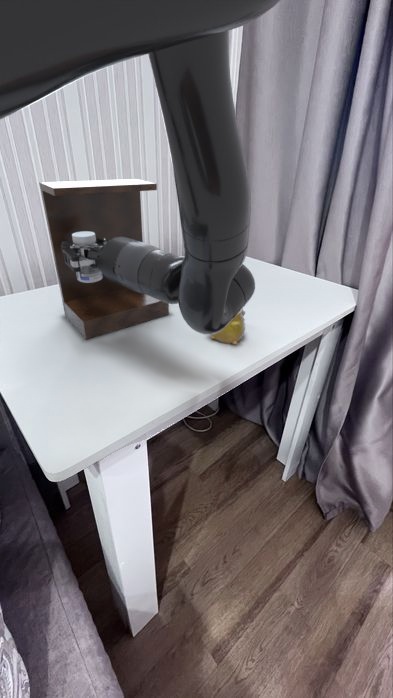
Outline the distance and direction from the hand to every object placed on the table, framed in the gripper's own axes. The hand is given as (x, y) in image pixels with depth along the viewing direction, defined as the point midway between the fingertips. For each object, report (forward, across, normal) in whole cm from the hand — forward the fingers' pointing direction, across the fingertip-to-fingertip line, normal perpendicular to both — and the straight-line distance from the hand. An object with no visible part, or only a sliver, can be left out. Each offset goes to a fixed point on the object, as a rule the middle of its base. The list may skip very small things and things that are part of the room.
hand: (77, 244), depth 62 cm
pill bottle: (-3, 0, +6) cm, 7 cm away
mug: (-23, -20, +18) cm, 35 cm away
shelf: (0, -7, +18) cm, 19 cm away
